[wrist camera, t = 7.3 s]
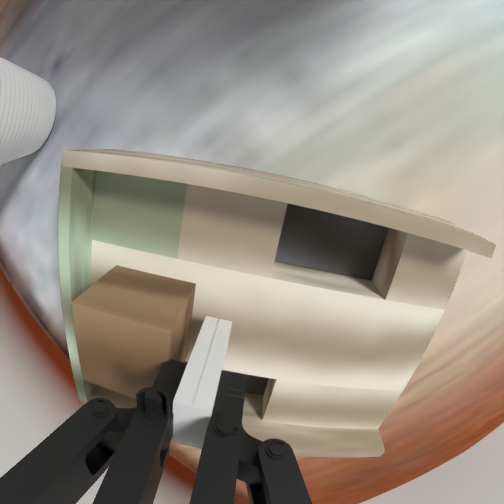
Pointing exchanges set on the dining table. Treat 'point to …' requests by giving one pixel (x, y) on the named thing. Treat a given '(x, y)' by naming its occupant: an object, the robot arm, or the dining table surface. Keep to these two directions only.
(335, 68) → the dining table surface
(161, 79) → the dining table surface
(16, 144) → the cup
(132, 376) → the block
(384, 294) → the box
